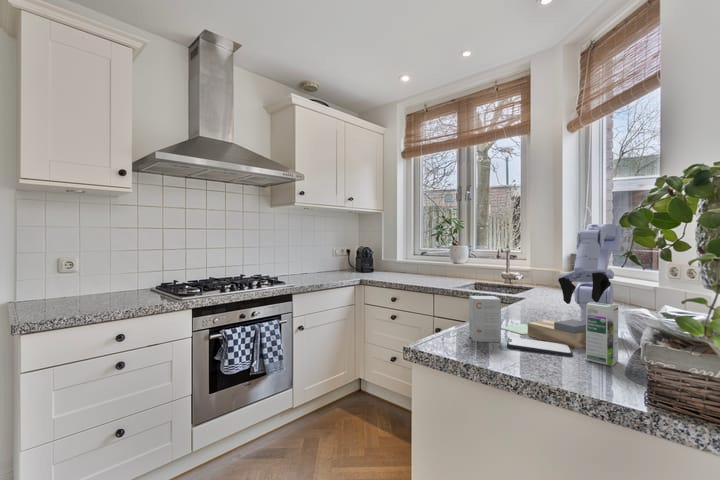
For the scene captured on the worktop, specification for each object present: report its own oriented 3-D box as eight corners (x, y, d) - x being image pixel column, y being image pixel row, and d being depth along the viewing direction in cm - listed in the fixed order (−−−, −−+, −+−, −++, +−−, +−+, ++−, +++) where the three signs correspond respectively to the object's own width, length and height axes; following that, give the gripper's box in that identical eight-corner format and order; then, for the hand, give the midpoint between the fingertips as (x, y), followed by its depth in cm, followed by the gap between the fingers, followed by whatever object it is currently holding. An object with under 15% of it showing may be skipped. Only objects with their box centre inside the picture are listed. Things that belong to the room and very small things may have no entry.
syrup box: (584, 360, 86) (585, 303, 86) (592, 355, 90) (592, 301, 90) (612, 367, 82) (612, 306, 82) (618, 361, 85) (619, 304, 85)
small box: (494, 336, 107) (494, 295, 107) (501, 342, 101) (501, 299, 101) (468, 336, 108) (468, 295, 108) (473, 342, 102) (473, 298, 102)
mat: (523, 324, 123) (523, 323, 123) (546, 330, 115) (546, 329, 115) (499, 328, 117) (499, 327, 117) (522, 334, 109) (522, 333, 109)
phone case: (569, 350, 96) (508, 341, 103) (569, 344, 96) (508, 336, 103) (573, 360, 88) (506, 349, 95) (573, 353, 88) (506, 344, 95)
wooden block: (547, 331, 113) (547, 319, 113) (595, 343, 100) (595, 330, 100) (527, 335, 109) (527, 322, 109) (575, 348, 96) (575, 334, 96)
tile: (572, 325, 106) (572, 319, 106) (592, 330, 100) (592, 323, 100) (554, 328, 102) (554, 322, 102) (574, 333, 96) (574, 326, 96)
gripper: (555, 258, 106) (547, 295, 100) (606, 250, 94) (600, 291, 88) (567, 271, 109) (560, 308, 102) (619, 264, 96) (615, 305, 90)
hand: (580, 301), depth 95 cm, fingers open, 7 cm apart
